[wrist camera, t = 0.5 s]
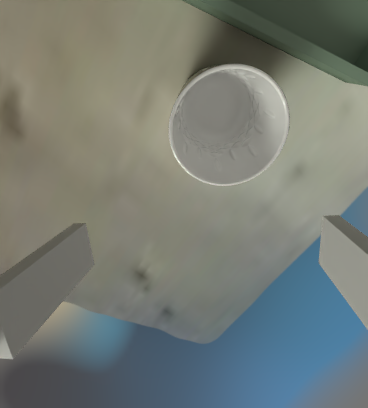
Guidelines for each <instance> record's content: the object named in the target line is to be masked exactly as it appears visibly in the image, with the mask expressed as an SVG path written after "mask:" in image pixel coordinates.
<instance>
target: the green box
mask: <svg viewBox="0 0 368 408" xmlns="http://www.w3.org/2000/svg"><path fill="white" fill-rule="evenodd" d="M182 1H184V2H186V3H188V4H190V5H192V6H194V7H196V8H198V9H200V10H202V11H204V12H206V13H208V14H210V15H212V16H214V17H216V18H218V19H220V20H222V21H224V22H226V23H228V24H230V25H232V26H234V27H236V28H238V29H240V30H242V31H244V32H246V33H248V34H250V35H252V36H254V37H256V38H258V39H260V40H262V41H264V42H266V43H268V44H270V45H272V46H274V47H276V48H278V49H280V50H282V51H284V52H286V53H288V54H290V55H292V56H294V57H296V58H298V59H300V60H302V61H304V62H306V63H308V64H310V65H312V66H314V67H316V68H318V69H320V70H322V71H324V72H326V73H328V74H330V75H332V76H334V77H336V78H338V79H340V80H342V81H344V82H347V83H353V84H358V85H364V86H368V0H182Z"/></svg>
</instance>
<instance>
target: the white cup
mask: <svg viewBox="0 0 368 408" xmlns="http://www.w3.org/2000/svg"><path fill="white" fill-rule="evenodd" d="M289 123H290V115H289V107H288V103H287V100H286V97H285V95H284V93H283V91H282V89H281V88H280V86H279V85H278V84H277V82H276V81H275V80H274V79H273V78H272V77H270V76H269V75H268V74H267V73H265V72H263V71H262V70H260V69H258V68H255V67H253V66H249V65H244V64H222V65H214V66H210V67H207V68H204V69H202V70H200V71H198V72H197V73H195V74H194V75H193V76H192V77H191V78H190V79H189V80H188V81H187V82H186V83H185V85H184V86H183V88H182V89H181V91H180V93H179V95H178V97H177V100H176V102H175V104H174V106H173V109H172V112H171V115H170V120H169V140H170V145H171V148H172V151H173V154H174V156H175V158H176V159H177V161H178V163H179V164H180V165H181V166H182V168H183V169H184V170H185V171H186V172H187V173H189V174H190V175H191V176H193V177H194V178H196V179H198V180H200V181H202V182H205V183H208V184H212V185H219V186H228V185H236V184H240V183H243V182H246V181H248V180H251V179H253V178H255V177H256V176H258V175H259V174H261V173H262V172H264V171H265V170H266V169H267V168H268V167H269V166H270V165H271V164H272V163H273V162H274V161H275V159H276V158H277V157H278V155H279V154H280V152H281V150H282V148H283V146H284V144H285V142H286V139H287V135H288V131H289Z"/></svg>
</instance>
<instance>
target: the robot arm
mask: <svg viewBox="0 0 368 408" xmlns="http://www.w3.org/2000/svg"><path fill="white" fill-rule="evenodd" d="M319 264H320V265H321V267H322V268H323V269H324V271H325V272H326V273H327V275H328V276H329V278H330V279H331V280H332V282H333V283H334V284H335V285H336V287H337V288H338V290H339V291H340V293H341V294H342V295H343V296H344V298H345V299H346V301H347V302H348V303H349V305H350V306H351V308H352V309H353V310H354V311H355V313H356V314H357V316H358V317H359V318H360V320H361V321H362V323H363V324H364V325H365V327H366V328H367V329H368V237H367V236H366V235H364V234H363V233H362V232H360V231H359V230H358V229H356V228H355V227H353V226H352V225H351V224H350V223H348V222H347V221H346V220H344V219H343V218H342V217H340V216H339V215H335V216H323V220H322V231H321V242H320V255H319ZM93 266H94V260H93V255H92V250H91V246H90V241H89V236H88V231H87V227H86V223H78V224H73V225H71V226H70V227H68V228H67V229H65V230H64V231H63V232H61V233H60V234H58V235H57V236H56V237H54V238H53V239H51V240H50V241H48V242H47V243H46V244H44V245H43V246H41V247H40V248H39V249H37V250H36V251H34V252H33V253H32V254H30V255H29V256H27V257H26V258H24V259H23V260H22V261H20V262H19V263H17V264H16V265H15V266H13V267H12V268H10V269H9V270H7V271H6V272H5V273H3V274H2V275H0V358H3V359H14V357H15V356H16V355H17V354H18V353H19V351H20V350H21V349H22V348H23V347H24V346H25V345H26V343H27V342H28V341H29V340H30V338H31V337H32V336H33V335H34V334H35V333H36V332H37V331H38V329H39V328H40V327H41V326H42V325H43V324H44V322H45V321H46V320H47V319H48V318H49V317H50V315H51V314H52V313H53V312H54V311H55V310H56V309H57V307H58V306H59V305H60V304H61V303H62V302H63V300H64V299H65V298H66V297H67V296H68V295H69V293H70V292H71V291H72V290H73V289H74V288H75V286H76V285H77V284H78V283H79V282H80V281H81V279H82V278H83V277H84V276H85V275H86V274H87V272H88V271H89V270H90V269H91V268H92V267H93Z"/></svg>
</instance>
